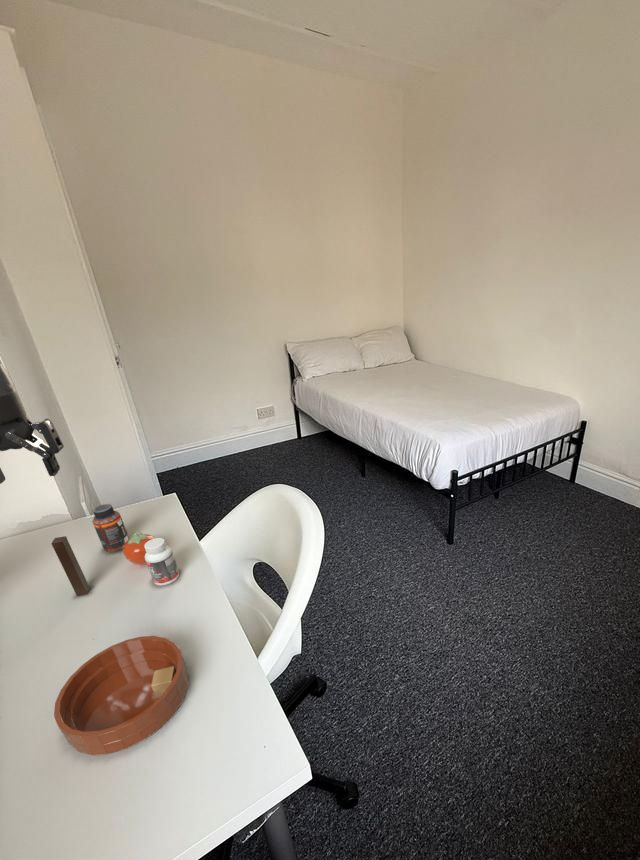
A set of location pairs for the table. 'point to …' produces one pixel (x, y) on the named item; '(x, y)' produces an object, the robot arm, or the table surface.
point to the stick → (70, 565)
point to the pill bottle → (161, 562)
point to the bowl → (120, 696)
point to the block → (162, 680)
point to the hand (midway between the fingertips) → (27, 478)
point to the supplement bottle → (109, 528)
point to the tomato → (136, 548)
